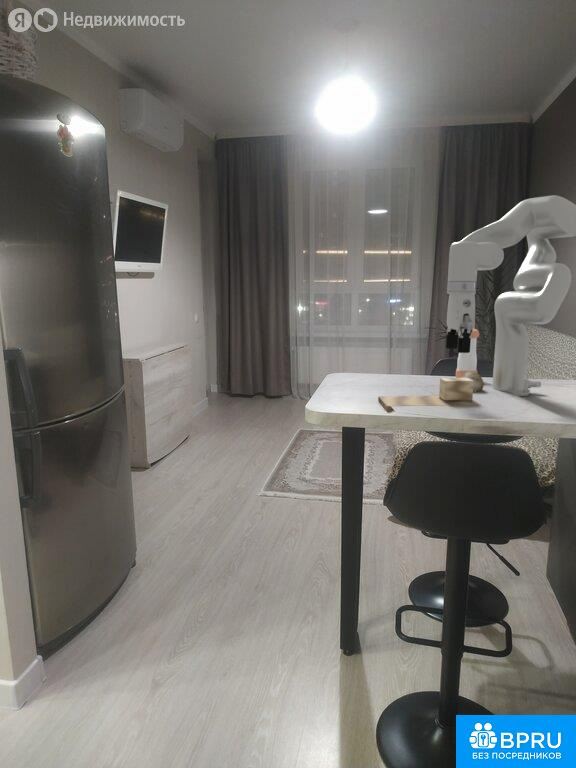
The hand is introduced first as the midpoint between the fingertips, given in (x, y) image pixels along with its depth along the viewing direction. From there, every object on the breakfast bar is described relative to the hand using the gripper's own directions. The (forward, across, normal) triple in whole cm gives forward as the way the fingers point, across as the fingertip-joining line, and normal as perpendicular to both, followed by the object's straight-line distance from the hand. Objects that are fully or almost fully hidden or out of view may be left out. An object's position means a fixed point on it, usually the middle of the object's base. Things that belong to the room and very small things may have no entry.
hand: (457, 350), depth 144 cm
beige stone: (+16, +14, -9) cm, 23 cm away
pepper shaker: (+15, +38, -18) cm, 45 cm away
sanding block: (+14, 0, -1) cm, 14 cm away
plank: (+16, 0, +7) cm, 18 cm away
